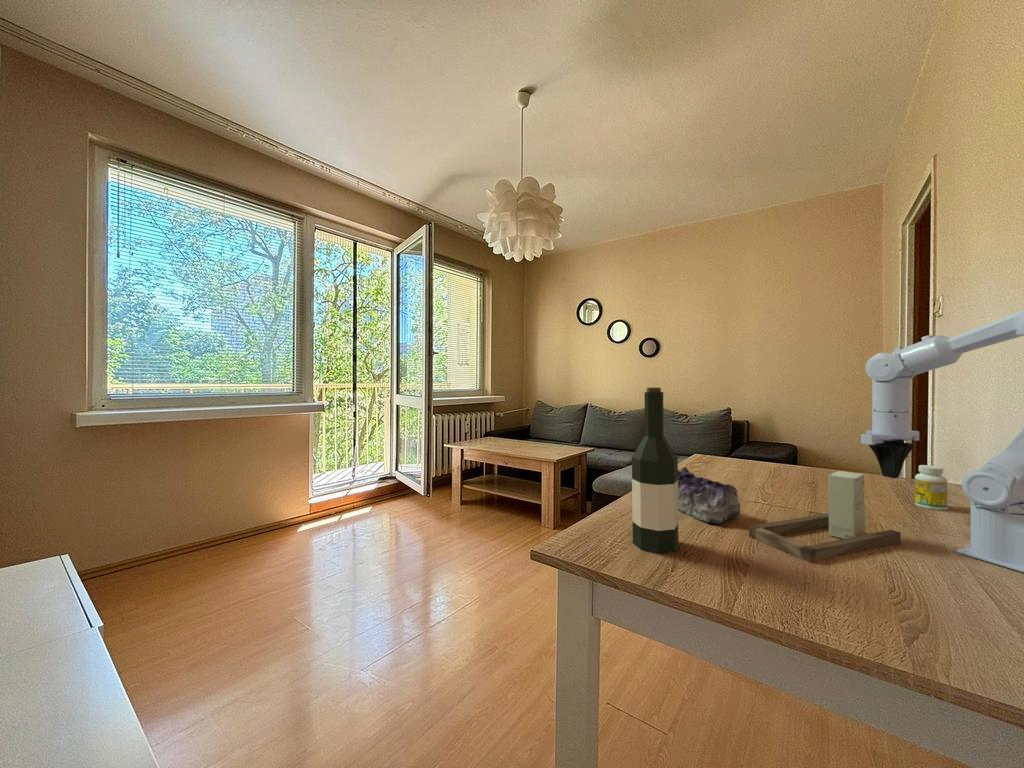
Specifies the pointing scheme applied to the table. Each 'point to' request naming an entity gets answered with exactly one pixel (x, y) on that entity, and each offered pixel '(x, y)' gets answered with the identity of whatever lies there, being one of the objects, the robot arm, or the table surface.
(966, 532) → the table surface
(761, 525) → the cradle
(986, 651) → the table surface
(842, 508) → the skincare box
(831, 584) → the table surface
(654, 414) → the wine bottle
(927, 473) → the supplement bottle
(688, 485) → the geode
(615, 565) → the table surface
